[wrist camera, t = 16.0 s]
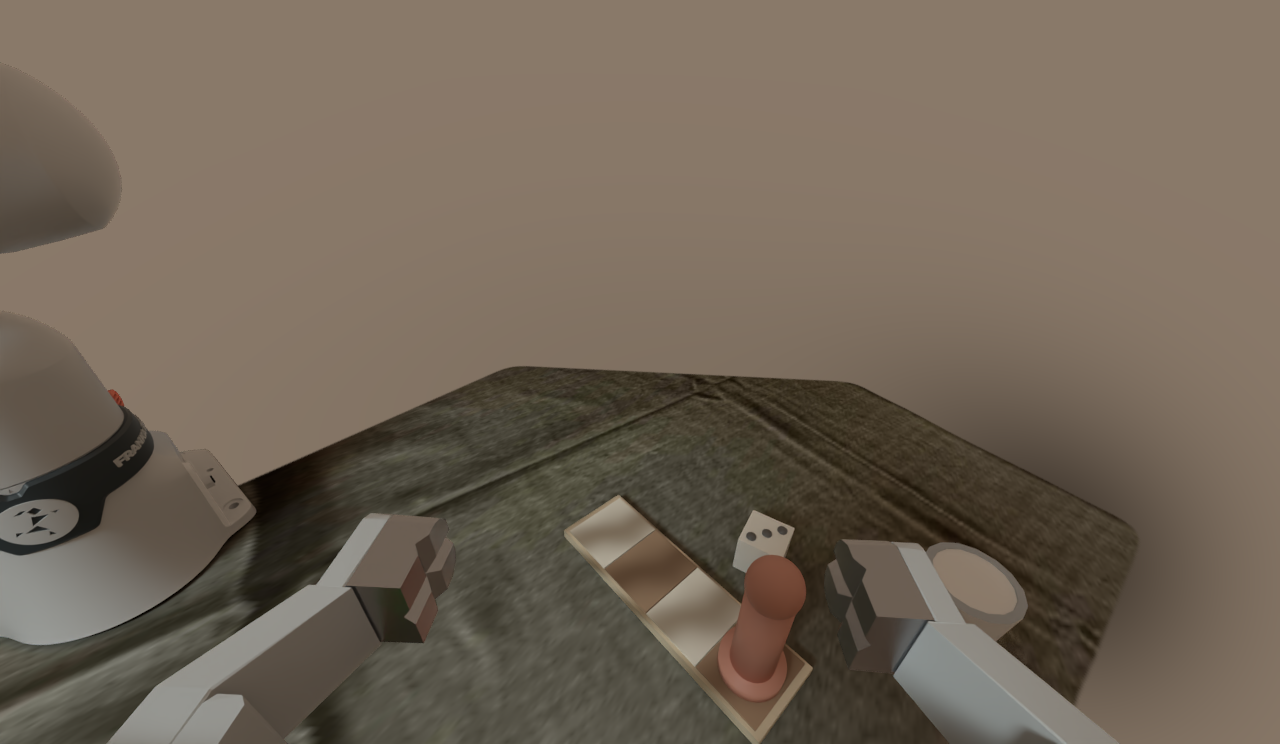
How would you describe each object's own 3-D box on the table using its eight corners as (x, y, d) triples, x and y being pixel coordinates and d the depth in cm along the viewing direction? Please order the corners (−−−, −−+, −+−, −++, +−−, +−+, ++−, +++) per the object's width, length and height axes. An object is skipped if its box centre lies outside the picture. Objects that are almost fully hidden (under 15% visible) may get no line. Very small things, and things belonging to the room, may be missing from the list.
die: (732, 566, 43) (738, 538, 41) (747, 536, 46) (753, 509, 44) (773, 587, 41) (782, 559, 39) (786, 555, 44) (795, 527, 42)
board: (564, 536, 45) (564, 528, 45) (618, 501, 49) (618, 493, 49) (756, 748, 31) (759, 741, 30) (810, 674, 35) (813, 666, 35)
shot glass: (990, 621, 39) (1029, 571, 35) (984, 692, 34) (1028, 644, 31) (903, 576, 43) (930, 527, 39) (887, 636, 38) (916, 586, 34)
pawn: (703, 661, 35) (723, 565, 28) (743, 618, 38) (769, 522, 31) (758, 719, 32) (793, 625, 25) (797, 667, 34) (837, 571, 28)
